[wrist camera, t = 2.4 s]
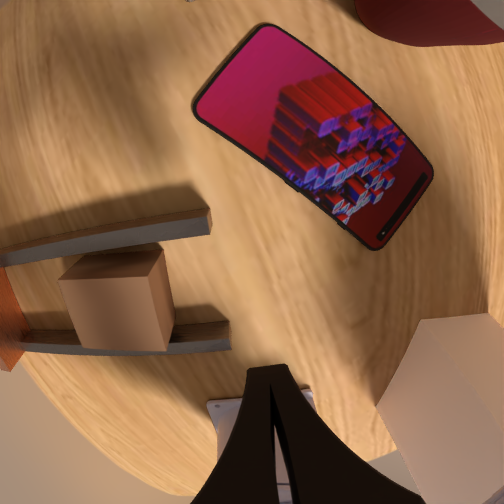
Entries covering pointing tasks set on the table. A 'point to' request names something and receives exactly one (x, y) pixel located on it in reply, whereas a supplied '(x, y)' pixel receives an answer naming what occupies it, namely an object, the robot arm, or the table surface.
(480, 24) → the mug
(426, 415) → the milk
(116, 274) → the block
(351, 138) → the smartphone
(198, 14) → the table surface
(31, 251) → the guide lane
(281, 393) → the robot arm
